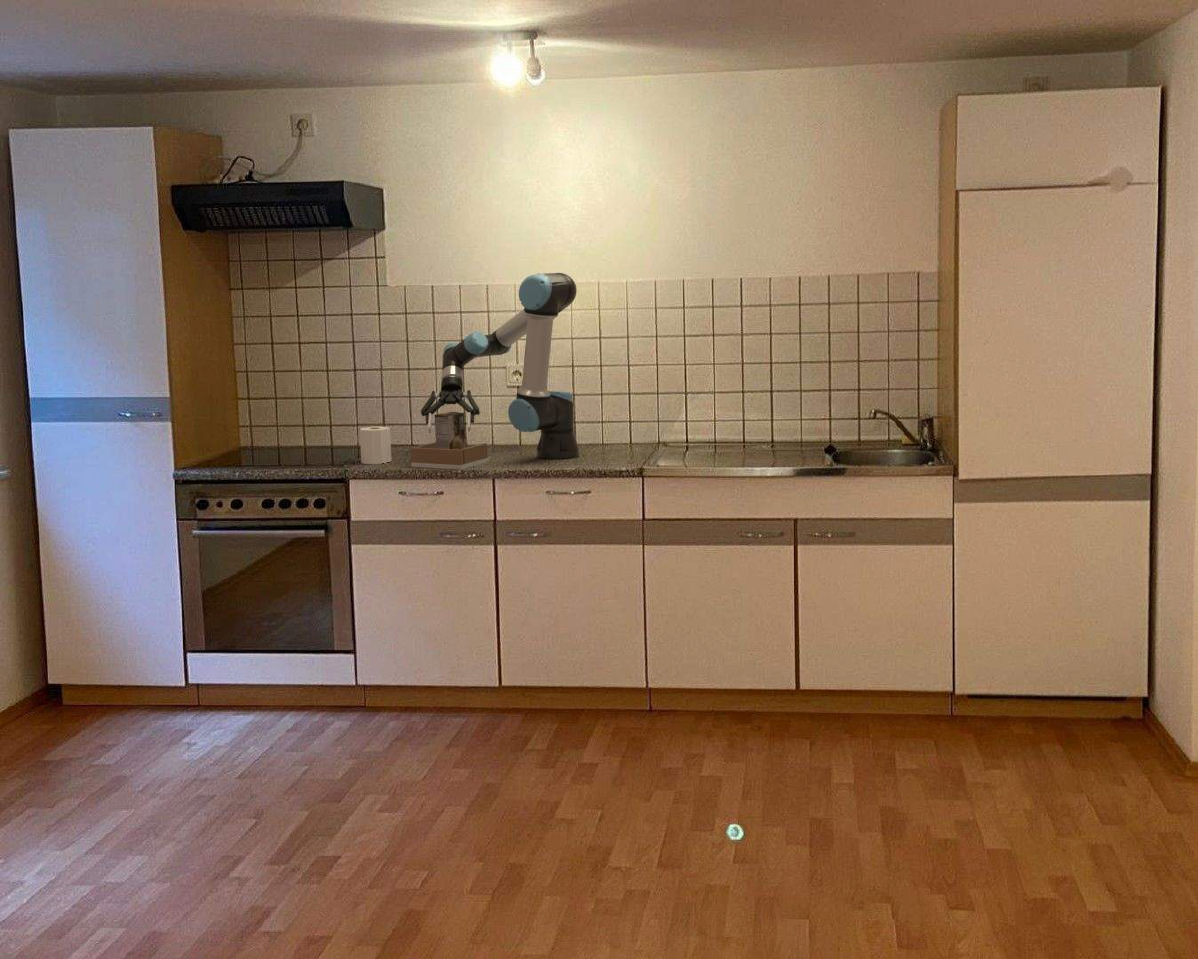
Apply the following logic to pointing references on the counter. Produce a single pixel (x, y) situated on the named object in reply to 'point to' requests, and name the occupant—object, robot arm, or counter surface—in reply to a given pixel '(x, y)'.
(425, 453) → the tray
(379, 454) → the toilet paper
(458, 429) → the coffee box
